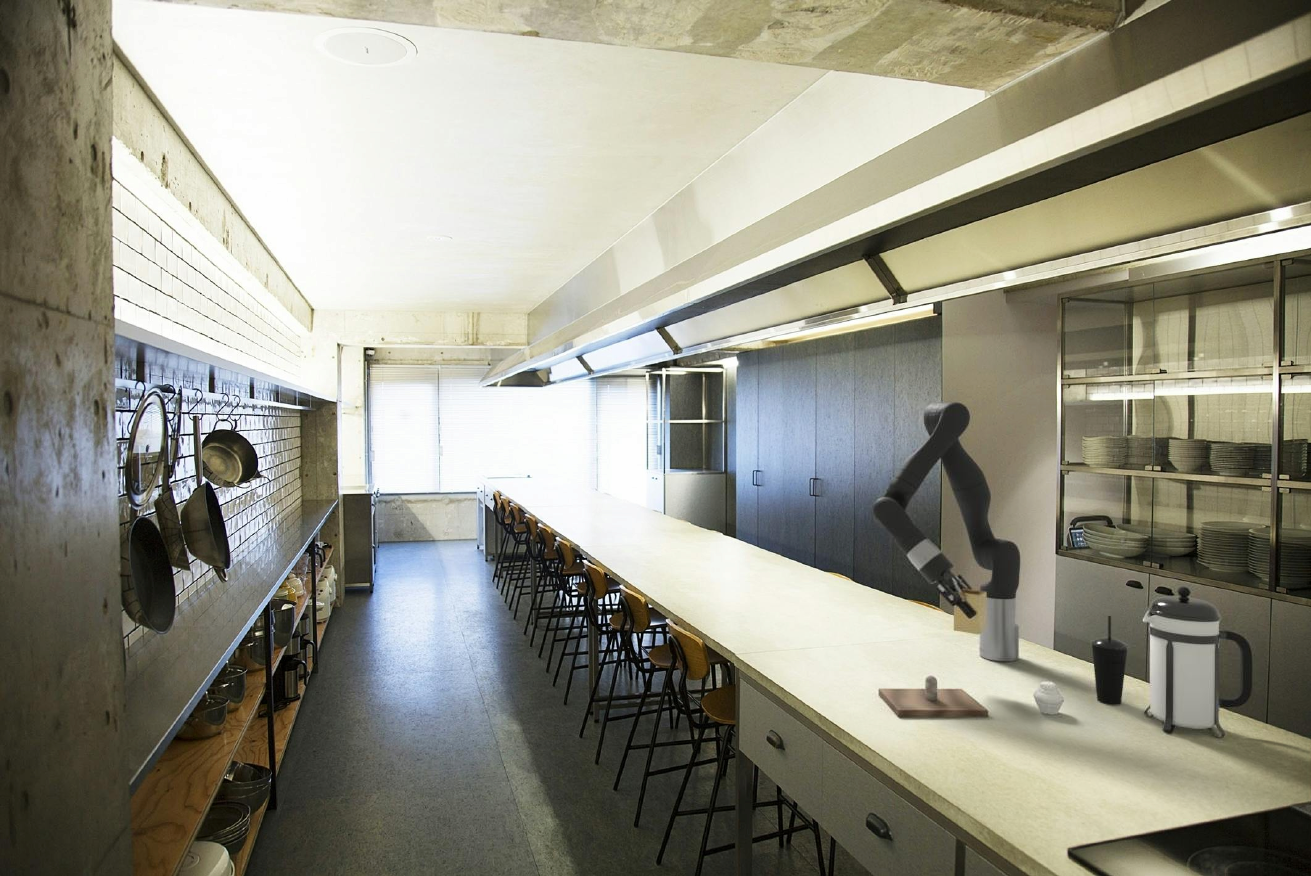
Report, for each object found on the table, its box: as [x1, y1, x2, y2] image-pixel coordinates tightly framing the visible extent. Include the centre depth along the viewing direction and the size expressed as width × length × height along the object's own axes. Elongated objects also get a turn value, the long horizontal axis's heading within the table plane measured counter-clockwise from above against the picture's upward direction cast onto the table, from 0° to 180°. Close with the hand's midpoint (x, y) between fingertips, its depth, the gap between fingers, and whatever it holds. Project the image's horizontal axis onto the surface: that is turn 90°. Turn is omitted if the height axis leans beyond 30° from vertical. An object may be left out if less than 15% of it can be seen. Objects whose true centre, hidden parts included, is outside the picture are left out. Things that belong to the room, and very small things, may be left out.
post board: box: [878, 675, 989, 718], centre depth 172 cm, size 20×14×7 cm
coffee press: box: [1142, 586, 1253, 739], centre depth 160 cm, size 17×16×30 cm
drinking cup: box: [1090, 615, 1130, 706], centre depth 175 cm, size 8×8×20 cm
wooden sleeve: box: [953, 589, 987, 636], centre depth 186 cm, size 6×6×10 cm
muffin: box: [1033, 681, 1065, 716], centre depth 168 cm, size 6×6×7 cm
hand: (977, 613), depth 185 cm, fingers closed on wooden sleeve, 6 cm apart
